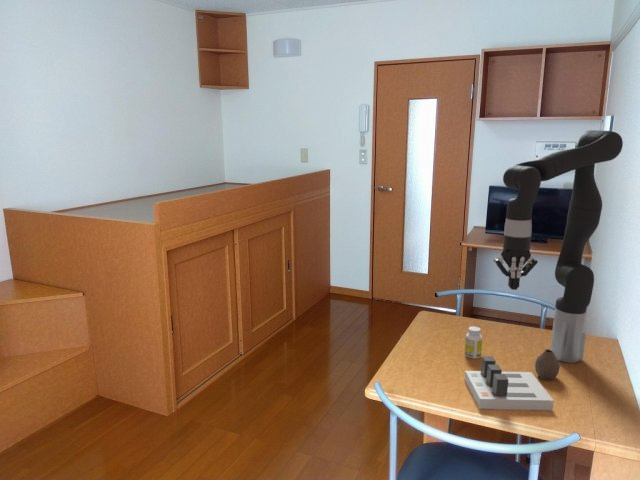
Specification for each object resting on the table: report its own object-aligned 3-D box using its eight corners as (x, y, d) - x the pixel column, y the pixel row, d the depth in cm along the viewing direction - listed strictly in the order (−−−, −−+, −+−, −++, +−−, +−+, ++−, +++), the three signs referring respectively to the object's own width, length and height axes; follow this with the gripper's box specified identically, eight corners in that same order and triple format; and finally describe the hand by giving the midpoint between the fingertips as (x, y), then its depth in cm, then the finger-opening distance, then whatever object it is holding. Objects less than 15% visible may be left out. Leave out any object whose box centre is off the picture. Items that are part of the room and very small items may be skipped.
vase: (556, 373, 154) (559, 347, 153) (559, 383, 148) (562, 357, 146) (533, 370, 157) (535, 344, 155) (534, 380, 150) (537, 353, 148)
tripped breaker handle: (503, 390, 138) (504, 373, 137) (506, 396, 135) (508, 379, 133) (492, 389, 138) (493, 373, 137) (495, 395, 135) (497, 379, 134)
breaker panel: (530, 381, 150) (532, 355, 148) (552, 410, 134) (556, 382, 132) (464, 379, 150) (466, 354, 148) (479, 408, 135) (481, 380, 133)
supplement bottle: (479, 352, 169) (481, 325, 167) (482, 359, 164) (484, 332, 162) (463, 351, 170) (465, 325, 167) (466, 358, 164) (468, 331, 162)
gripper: (534, 230, 148) (530, 284, 152) (491, 231, 149) (487, 285, 152) (545, 236, 141) (540, 292, 145) (499, 236, 141) (495, 293, 145)
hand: (513, 288), depth 149 cm, fingers closed
